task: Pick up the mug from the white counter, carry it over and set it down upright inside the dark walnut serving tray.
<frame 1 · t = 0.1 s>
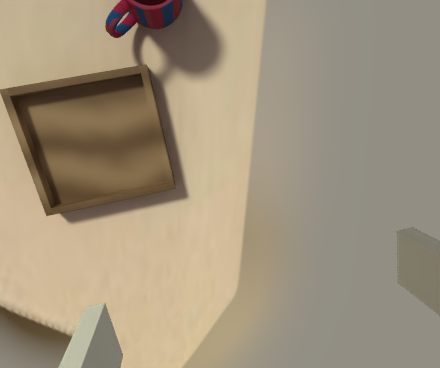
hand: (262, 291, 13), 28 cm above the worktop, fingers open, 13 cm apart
tray: (99, 140, 37), on the worktop
mug: (143, 7, 34), on the worktop
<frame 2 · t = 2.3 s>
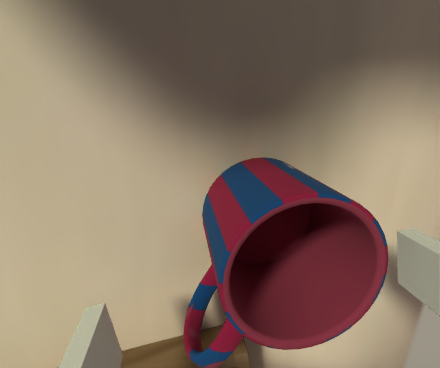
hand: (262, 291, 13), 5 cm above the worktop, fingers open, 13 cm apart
mug: (236, 228, 18), on the worktop
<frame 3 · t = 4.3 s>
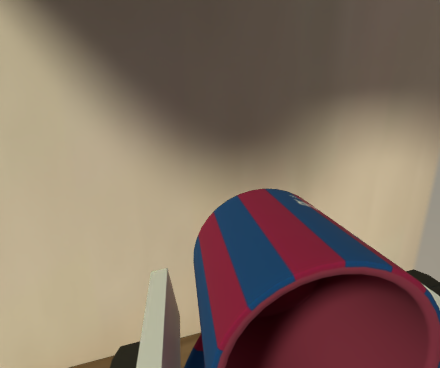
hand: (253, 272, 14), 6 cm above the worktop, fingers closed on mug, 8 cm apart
mug: (236, 274, 15), point 5 cm above the worktop, touching gripper
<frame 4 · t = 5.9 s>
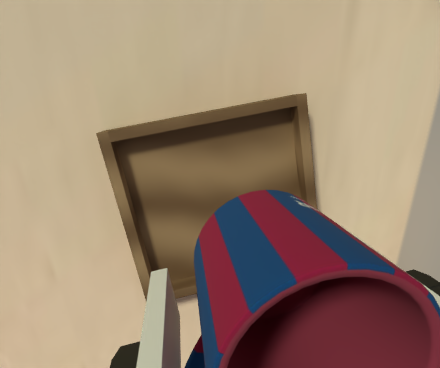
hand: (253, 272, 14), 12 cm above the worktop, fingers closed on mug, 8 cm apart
tray: (218, 196, 26), on the worktop
mug: (237, 275, 14), point 12 cm above the worktop, touching gripper
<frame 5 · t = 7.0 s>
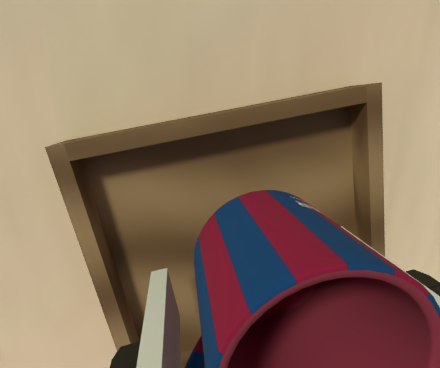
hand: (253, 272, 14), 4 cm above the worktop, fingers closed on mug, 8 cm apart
tray: (237, 234, 18), on the worktop
mug: (237, 275, 14), point 4 cm above the worktop, touching gripper
when the fingers open (2 cm above the worktop, at t = 7.7 s): mug stays where it is, resting on tray.
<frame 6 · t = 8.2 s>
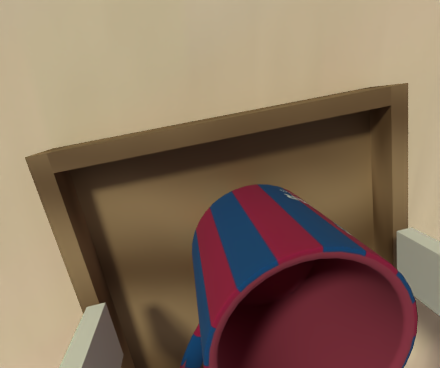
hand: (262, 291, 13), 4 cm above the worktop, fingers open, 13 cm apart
tray: (243, 251, 16), on the worktop
mug: (233, 265, 15), point 1 cm above the worktop, touching tray
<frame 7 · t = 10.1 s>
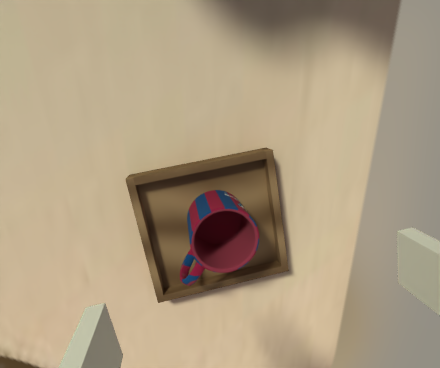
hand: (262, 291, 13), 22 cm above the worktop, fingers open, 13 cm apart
tray: (211, 221, 35), on the worktop
mug: (205, 226, 34), point 1 cm above the worktop, touching tray
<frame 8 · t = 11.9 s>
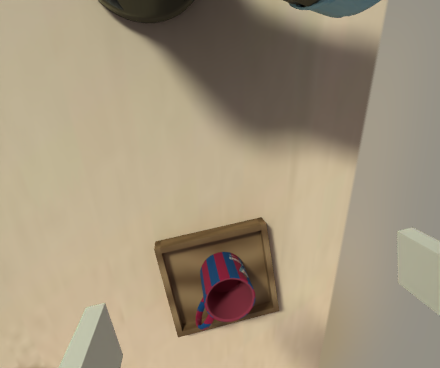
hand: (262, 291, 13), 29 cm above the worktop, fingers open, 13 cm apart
tray: (218, 272, 45), on the worktop
mug: (214, 278, 44), point 1 cm above the worktop, touching tray
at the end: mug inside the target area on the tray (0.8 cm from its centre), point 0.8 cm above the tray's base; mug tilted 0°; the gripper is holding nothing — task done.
